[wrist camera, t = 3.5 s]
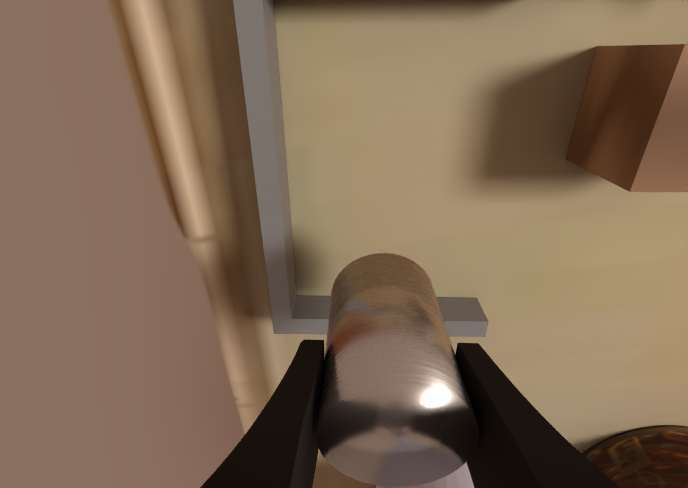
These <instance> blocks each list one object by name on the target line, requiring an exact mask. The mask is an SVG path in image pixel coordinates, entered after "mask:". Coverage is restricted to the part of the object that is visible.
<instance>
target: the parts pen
mask: <svg viewBox="0 0 688 488" xmlns="http://www.w3.org/2000/svg"><path fill="white" fill-rule="evenodd" d="M233 5H234V13H235V21H236V30H237V38H238V46H239V54H240V62H241V70H242V78H243V86H244V95H245V103H246V111H247V119H248V127H249V135H250V143H251V152H252V160H253V168H254V176H255V184H256V192H257V200H258V209H259V217H260V225H261V233H262V241H263V249H264V257H265V265H266V274H267V282H268V290H269V298H270V306H271V314H272V322H273V331H274V334H327V332H328V322H329V312H330V302H331V296H297V290H296V277H295V265H294V252H293V240H292V227H291V215H290V202H289V190H288V177H287V165H286V152H285V140H284V127H283V115H282V102H281V90H280V77H279V65H278V52H277V40H276V27H275V15H274V2H273V0H233ZM437 301H438V304H439V307H440V310H441V313H442V316H443V320H444V323H445V326H446V329H447V332H448V335H449V336H461V337H485V335H486V330H487V326H488V320H487V318H486V316H485V314H484V312H483V310H482V308H481V305H480V303H479V301H478V299H477V298H437Z"/></svg>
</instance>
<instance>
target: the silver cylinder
mask: <svg viewBox="0 0 688 488" xmlns="http://www.w3.org/2000/svg"><path fill="white" fill-rule="evenodd" d="M478 440H479V428H478V423H477V420H476V417H475V414H474V411H473V408H472V405H471V402H470V399H469V396H468V393H467V390H466V387H465V384H464V381H463V377H462V374H461V371H460V368H459V365H458V362H457V359H456V356H455V353H454V350H453V347H452V344H451V341H450V338H449V335H448V332H447V329H446V326H445V323H444V320H443V316H442V313H441V310H440V307H439V304H438V301H437V298H436V295H435V292H434V289H433V286H432V283H431V281H430V278H429V277H428V275H427V273H426V272H425V271H424V270H423V269H422V268H421V267H420V266H419V265H418V264H417V263H415V262H414V261H412V260H410V259H408V258H406V257H403V256H400V255H395V254H388V253H379V254H372V255H368V256H364V257H361V258H359V259H357V260H355V261H353V262H352V263H350V264H349V265H347V266H346V267H345V268H344V269H343V270H342V271H341V272H340V273H339V275H338V276H337V278H336V279H335V282H334V284H333V287H332V293H331V302H330V312H329V322H328V332H327V342H326V351H325V361H324V371H323V381H322V390H321V400H320V410H319V420H318V429H317V443H318V447H319V450H320V452H321V454H322V455H323V457H324V458H325V460H326V461H327V462H328V463H329V464H330V465H331V466H332V467H333V468H335V469H336V470H337V471H339V472H340V473H342V474H344V475H345V476H347V477H350V478H352V479H354V480H357V481H360V482H363V483H367V484H371V485H376V486H385V487H408V486H416V485H421V484H426V483H429V482H433V481H436V480H438V479H441V478H443V477H446V476H447V475H449V474H451V473H453V472H454V471H456V470H458V469H459V468H460V467H461V466H463V465H464V464H465V463H466V462H467V461H468V460H469V459H470V457H471V456H472V454H473V453H474V451H475V449H476V447H477V445H478Z"/></svg>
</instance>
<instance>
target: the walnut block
mask: <svg viewBox="0 0 688 488" xmlns="http://www.w3.org/2000/svg"><path fill="white" fill-rule="evenodd" d="M566 159H567V160H569V161H571V162H573V163H575V164H577V165H578V166H580V167H582V168H584V169H586V170H588V171H590V172H592V173H594V174H596V175H598V176H600V177H602V178H604V179H606V180H608V181H610V182H612V183H614V184H616V185H618V186H620V187H621V188H623V189H625V190H627V191H629V192H688V44H678V45H632V46H596V50H595V54H594V57H593V61H592V65H591V68H590V72H589V75H588V79H587V83H586V86H585V90H584V94H583V97H582V101H581V104H580V108H579V112H578V115H577V119H576V122H575V126H574V130H573V133H572V137H571V141H570V144H569V148H568V151H567V155H566Z"/></svg>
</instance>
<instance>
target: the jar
mask: <svg viewBox="0 0 688 488" xmlns="http://www.w3.org/2000/svg"><path fill="white" fill-rule="evenodd" d="M583 456H585V457H586V458H587V459H588V460H589V461H590V462H591V463H592V464H594V465H595V466H596V467H597V468H598V469H599V470H600V471H602V472H603V473H604V474H605V475H606V476H608V477H609V478H610V479H611V480H612V481H614V482H615V483H616V484H617V485H619V486H620V487H621V488H688V427H679V426H663V427H652V428H645V429H640V430H635V431H631V432H628V433H624V434H621V435H618V436H616V437H613V438H610V439H608V440H606V441H604V442H602V443H600V444H598V445H596V446H595V447H593V448H591V449H590V450H588V451H587V452H586V453H584V454H583Z"/></svg>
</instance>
